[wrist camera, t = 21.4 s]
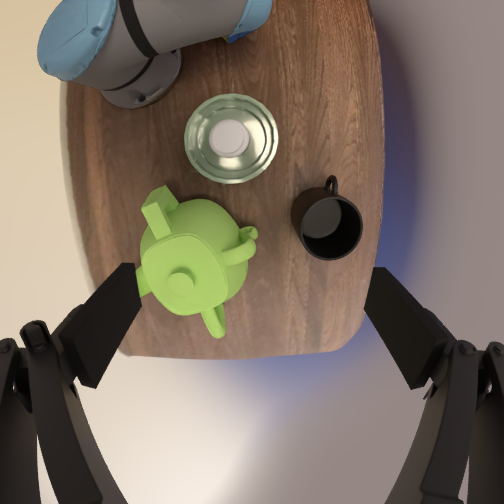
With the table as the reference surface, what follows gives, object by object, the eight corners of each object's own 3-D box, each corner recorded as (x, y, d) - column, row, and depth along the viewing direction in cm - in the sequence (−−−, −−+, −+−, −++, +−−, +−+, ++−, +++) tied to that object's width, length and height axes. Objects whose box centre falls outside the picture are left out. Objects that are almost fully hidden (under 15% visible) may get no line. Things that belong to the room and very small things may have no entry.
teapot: (269, 220, 45) (277, 252, 32) (223, 311, 52) (216, 363, 39) (167, 176, 42) (132, 190, 29) (135, 274, 49) (103, 315, 35)
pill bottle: (254, 150, 40) (256, 150, 31) (222, 162, 41) (214, 165, 32) (242, 119, 38) (240, 110, 29) (210, 131, 39) (199, 126, 30)
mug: (350, 177, 43) (372, 185, 34) (337, 243, 47) (354, 264, 39) (297, 167, 42) (309, 172, 34) (286, 237, 46) (294, 257, 38)
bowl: (177, 155, 41) (168, 156, 36) (219, 86, 37) (215, 78, 32) (246, 194, 44) (246, 200, 39) (289, 126, 40) (295, 123, 35)
